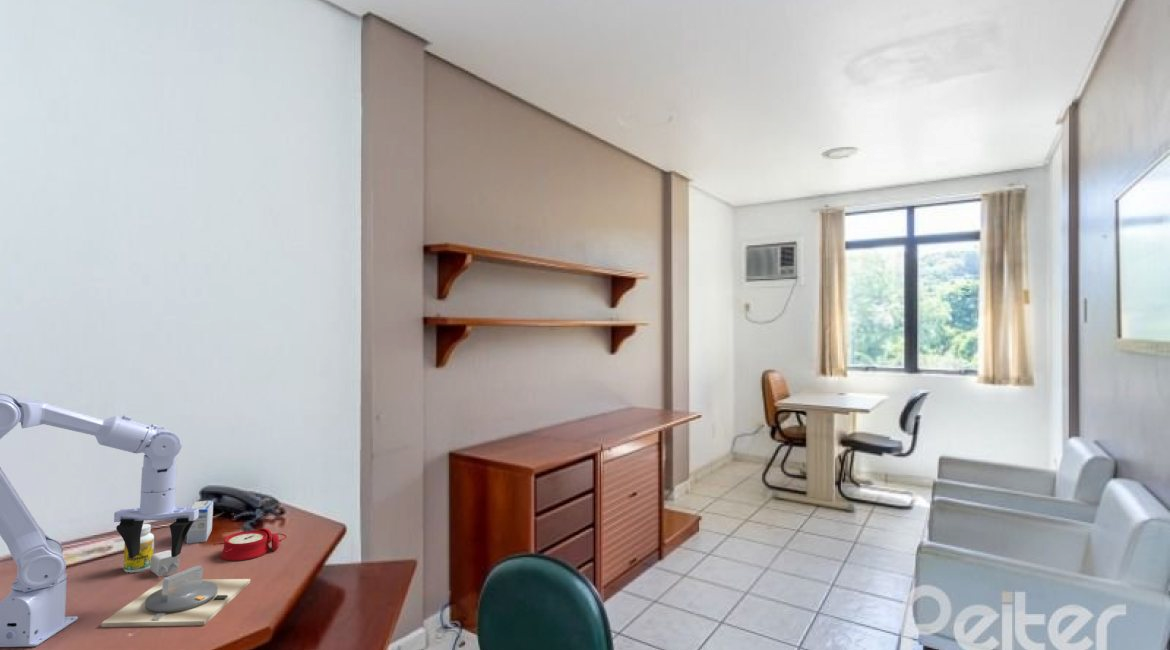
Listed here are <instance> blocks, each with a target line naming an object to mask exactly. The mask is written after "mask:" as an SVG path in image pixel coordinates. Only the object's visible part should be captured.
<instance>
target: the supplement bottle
mask: <svg viewBox="0 0 1170 650" xmlns="http://www.w3.org/2000/svg"><path fill="white" fill-rule="evenodd" d="M151 528H152V525H151V524H149V523H143V526H142V530H141V536H140V551H139V554H138V555H137V556H135V557H134V558H129V554H128V550H127V547H126V544H125V543H124V547H123V548H124V549H123V550H124V551H123V552H124V555H123V571H124V572H126V573H128V572H129V574H131V573H132V574H133V573H134V572H135V573H140V572H144V571H147V570H149V569H150V566H151V556H152V555H153V554H155V553H154V552H155V551H154V550H155V534H153V533H152V532H151ZM135 573H134V574H135Z"/></svg>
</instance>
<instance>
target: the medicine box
mask: <svg viewBox="0 0 1170 650" xmlns="http://www.w3.org/2000/svg"><path fill="white" fill-rule="evenodd" d="M190 508H199V517H198V518H197V519H196V520H195V521H194V522H193V524H192V526H191V527H190V529H189V531H188V533H187V535H186V543H187V544H189V545H190V544H200V543H199V542H201V543H206V542H207V541H208V539H209V537H210V535H211V532H212V530H213V515H214V500H200V501H194V503H193V504H192V505H191V507H190Z"/></svg>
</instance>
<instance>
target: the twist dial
mask: <svg viewBox="0 0 1170 650" xmlns="http://www.w3.org/2000/svg"><path fill="white" fill-rule="evenodd" d="M203 571H204V567H203V566H202V565H195V566H194V565H193V566H192V567H189V568H187V569H184V570H182V571H179V572H175V573H173V574H170V575H169V576H168V575H167V576H166V577H163V578H162V580H163V588H162V589H160V590H158V591H156V592H154V593H152V594H151V595H150V596H148V597H147V599H146V601H145V608H146V609H147V610H149V611H151V612H157V613H170V612H177V611H183V610H187V609H191V608H194V607H197V606H200V605H202V604H204V603H206V602H208V601H210V600H211V599H213V598H214V597H215V596H216V594H217V592H218V587H217V585H216V584H215V583H212V582H208V581H202V579H203V575H204V572H203Z"/></svg>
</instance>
